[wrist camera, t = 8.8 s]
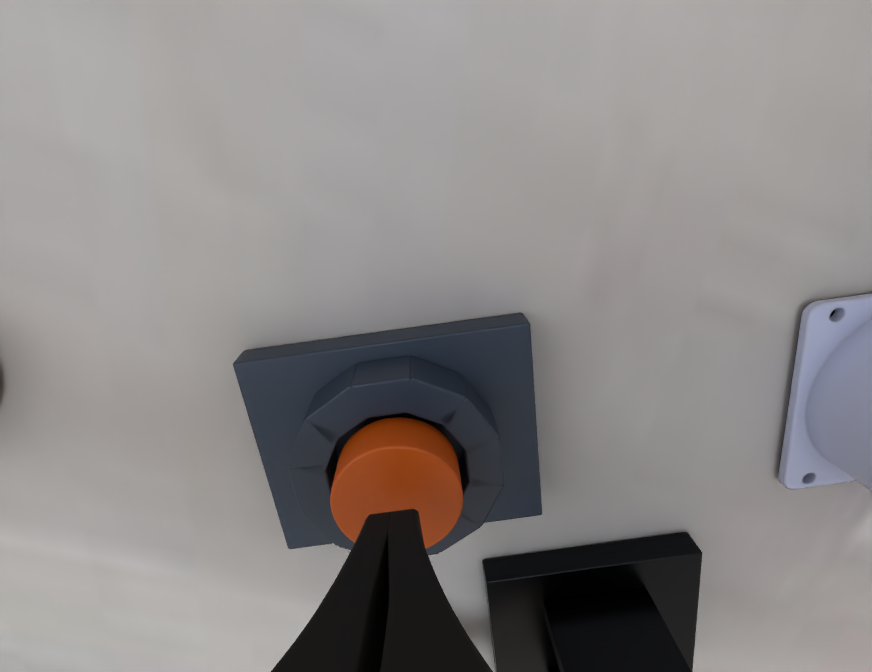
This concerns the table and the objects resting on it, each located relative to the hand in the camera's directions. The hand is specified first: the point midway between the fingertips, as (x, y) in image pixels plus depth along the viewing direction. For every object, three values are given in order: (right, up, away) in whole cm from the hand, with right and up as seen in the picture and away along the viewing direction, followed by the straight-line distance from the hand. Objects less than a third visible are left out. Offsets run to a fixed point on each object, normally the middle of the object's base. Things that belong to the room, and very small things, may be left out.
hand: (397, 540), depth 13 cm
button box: (0, +2, +5) cm, 6 cm away
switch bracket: (+8, -7, +9) cm, 14 cm away
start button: (0, +1, +3) cm, 3 cm away
